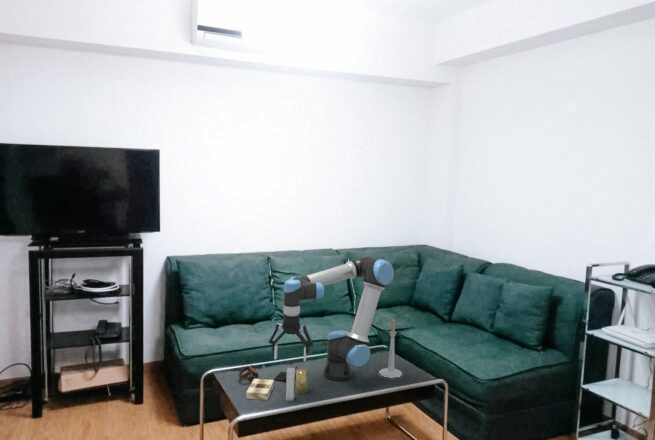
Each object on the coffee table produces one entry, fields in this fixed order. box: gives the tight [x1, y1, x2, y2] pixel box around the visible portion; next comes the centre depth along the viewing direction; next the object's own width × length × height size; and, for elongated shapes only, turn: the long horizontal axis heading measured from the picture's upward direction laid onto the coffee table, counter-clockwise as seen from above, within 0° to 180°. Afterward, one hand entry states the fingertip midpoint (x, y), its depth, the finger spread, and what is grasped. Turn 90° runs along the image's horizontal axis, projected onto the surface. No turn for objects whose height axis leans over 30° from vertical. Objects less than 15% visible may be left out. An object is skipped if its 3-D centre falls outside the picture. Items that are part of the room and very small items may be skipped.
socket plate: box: [245, 378, 275, 401], centre depth 238 cm, size 10×16×3 cm, turn 175°
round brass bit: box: [295, 368, 309, 395], centre depth 241 cm, size 6×6×10 cm
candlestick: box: [378, 318, 403, 378], centre depth 265 cm, size 13×13×30 cm
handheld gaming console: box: [273, 365, 298, 383], centre depth 256 cm, size 12×7×10 cm
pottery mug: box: [238, 364, 260, 381], centre depth 252 cm, size 12×10×8 cm
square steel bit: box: [285, 367, 296, 402], centre depth 232 cm, size 3×3×14 cm
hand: (290, 359), depth 231 cm, fingers open, 13 cm apart
